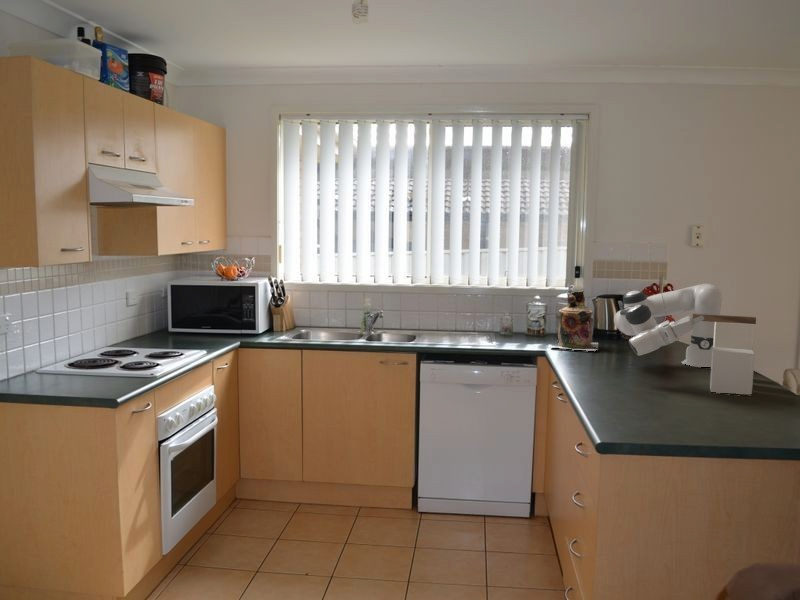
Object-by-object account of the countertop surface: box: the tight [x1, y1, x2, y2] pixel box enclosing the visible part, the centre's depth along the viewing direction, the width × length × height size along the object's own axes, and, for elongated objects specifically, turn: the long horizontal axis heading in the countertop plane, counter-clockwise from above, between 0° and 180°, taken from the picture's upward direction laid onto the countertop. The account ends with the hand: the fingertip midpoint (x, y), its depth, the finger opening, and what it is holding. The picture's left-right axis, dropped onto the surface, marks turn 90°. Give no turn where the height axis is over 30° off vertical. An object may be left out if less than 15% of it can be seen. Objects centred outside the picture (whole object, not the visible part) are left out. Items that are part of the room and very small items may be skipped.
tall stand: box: [713, 322, 756, 352], centre depth 268 cm, size 10×14×26 cm
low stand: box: [709, 347, 756, 394], centre depth 254 cm, size 10×14×16 cm
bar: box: [692, 313, 757, 325], centre depth 253 cm, size 3×22×2 cm, turn 67°
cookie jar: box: [552, 289, 599, 352], centre depth 353 cm, size 25×25×32 cm
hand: (703, 316), depth 256 cm, fingers closed on bar, 3 cm apart
